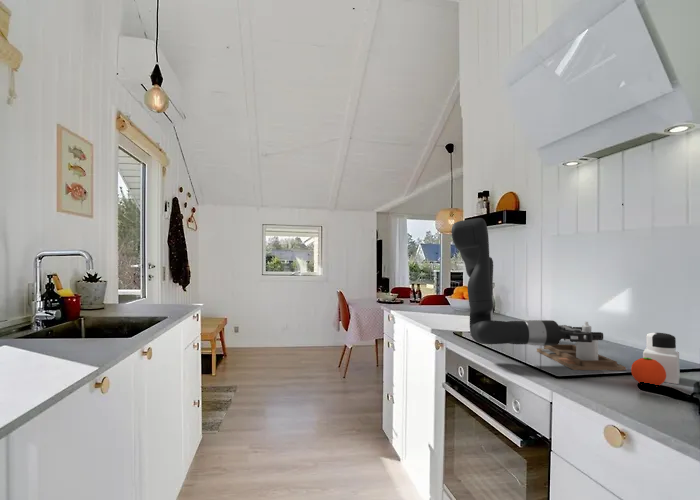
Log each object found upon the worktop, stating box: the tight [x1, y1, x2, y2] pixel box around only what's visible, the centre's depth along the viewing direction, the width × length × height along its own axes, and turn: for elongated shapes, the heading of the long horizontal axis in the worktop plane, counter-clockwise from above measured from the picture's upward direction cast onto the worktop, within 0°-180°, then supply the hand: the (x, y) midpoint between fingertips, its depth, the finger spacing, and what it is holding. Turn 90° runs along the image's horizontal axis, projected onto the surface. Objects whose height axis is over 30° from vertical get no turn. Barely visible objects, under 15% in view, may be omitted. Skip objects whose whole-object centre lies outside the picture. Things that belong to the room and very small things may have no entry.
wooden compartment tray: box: [536, 343, 627, 371], centre depth 118 cm, size 22×15×2 cm
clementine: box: [630, 357, 666, 386], centre depth 94 cm, size 8×7×7 cm
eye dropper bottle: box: [575, 321, 599, 360], centre depth 112 cm, size 4×6×12 cm
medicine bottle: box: [642, 332, 681, 385], centre depth 100 cm, size 7×7×12 cm
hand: (593, 333), depth 113 cm, fingers open, 8 cm apart
